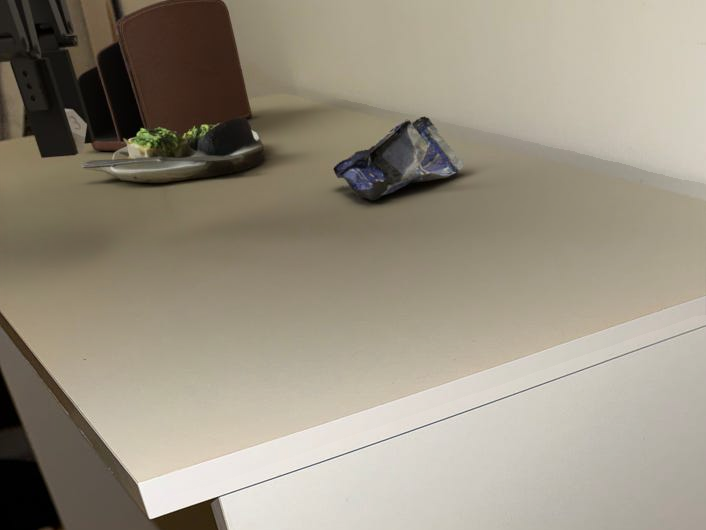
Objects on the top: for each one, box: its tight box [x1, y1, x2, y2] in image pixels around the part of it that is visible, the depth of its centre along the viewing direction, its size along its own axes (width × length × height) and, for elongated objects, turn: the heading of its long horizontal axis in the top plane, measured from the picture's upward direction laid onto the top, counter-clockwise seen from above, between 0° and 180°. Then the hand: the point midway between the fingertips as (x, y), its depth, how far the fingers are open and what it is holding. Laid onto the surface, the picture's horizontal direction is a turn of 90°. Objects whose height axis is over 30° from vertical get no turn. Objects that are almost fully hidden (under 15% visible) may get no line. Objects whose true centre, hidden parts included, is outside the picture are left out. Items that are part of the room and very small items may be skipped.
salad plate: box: [81, 118, 264, 184], centre depth 101 cm, size 19×18×5 cm
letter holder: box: [76, 0, 253, 152], centre depth 114 cm, size 10×20×14 cm, turn 155°
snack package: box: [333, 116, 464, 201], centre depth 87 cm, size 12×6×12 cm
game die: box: [65, 109, 87, 155], centre depth 74 cm, size 4×4×3 cm
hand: (69, 148), depth 75 cm, fingers closed on game die, 4 cm apart
